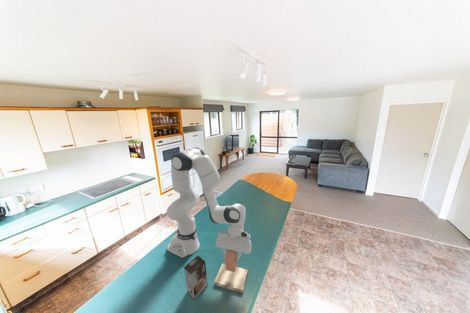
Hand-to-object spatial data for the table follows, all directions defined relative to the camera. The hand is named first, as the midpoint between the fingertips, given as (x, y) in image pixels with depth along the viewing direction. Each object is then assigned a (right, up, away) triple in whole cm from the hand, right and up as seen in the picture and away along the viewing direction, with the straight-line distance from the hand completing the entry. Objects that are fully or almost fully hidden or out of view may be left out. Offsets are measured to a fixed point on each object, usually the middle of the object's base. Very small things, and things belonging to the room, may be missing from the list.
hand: (230, 260), depth 90 cm
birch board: (0, -13, +4) cm, 13 cm away
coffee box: (-18, -15, -1) cm, 23 cm away
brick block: (0, -5, +2) cm, 5 cm away
